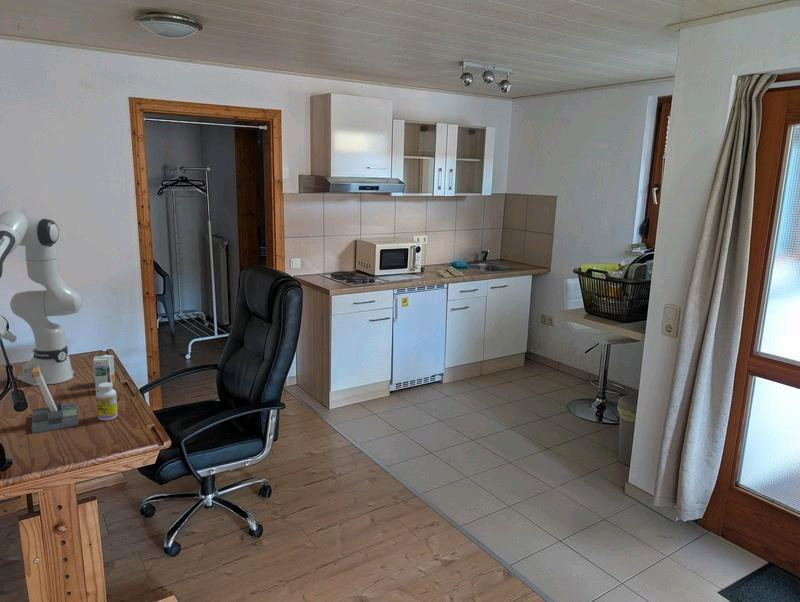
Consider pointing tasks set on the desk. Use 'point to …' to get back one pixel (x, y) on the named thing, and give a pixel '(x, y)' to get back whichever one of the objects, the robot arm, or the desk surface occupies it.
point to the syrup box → (102, 370)
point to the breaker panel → (55, 418)
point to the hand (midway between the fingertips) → (15, 340)
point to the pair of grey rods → (47, 407)
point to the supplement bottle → (106, 402)
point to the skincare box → (112, 367)
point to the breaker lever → (44, 389)
